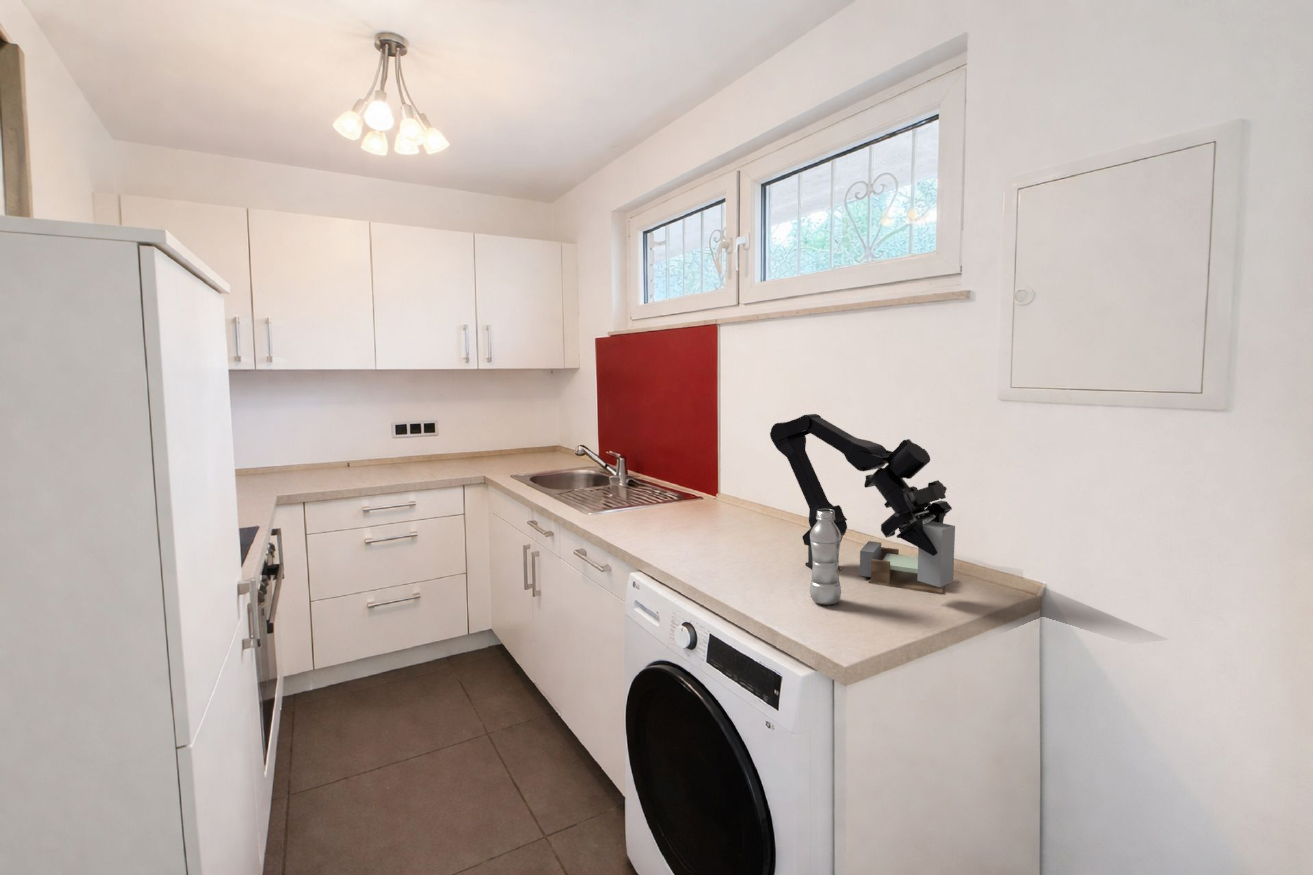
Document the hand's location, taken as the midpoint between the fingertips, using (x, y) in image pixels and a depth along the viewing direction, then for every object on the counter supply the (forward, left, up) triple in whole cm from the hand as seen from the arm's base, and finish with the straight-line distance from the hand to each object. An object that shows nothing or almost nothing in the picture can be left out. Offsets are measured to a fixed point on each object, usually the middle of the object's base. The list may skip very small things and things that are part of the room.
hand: (942, 552), depth 127 cm
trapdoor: (+1, +16, -10) cm, 19 cm away
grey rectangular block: (-1, +1, -7) cm, 7 cm away
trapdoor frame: (+2, +15, -11) cm, 18 cm away
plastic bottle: (-23, +7, -11) cm, 26 cm away
